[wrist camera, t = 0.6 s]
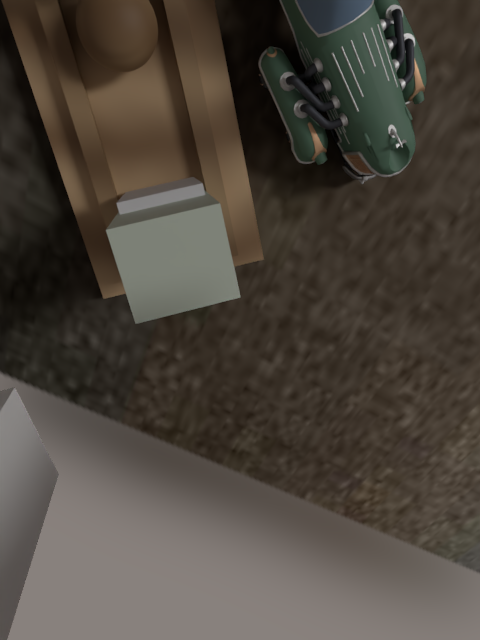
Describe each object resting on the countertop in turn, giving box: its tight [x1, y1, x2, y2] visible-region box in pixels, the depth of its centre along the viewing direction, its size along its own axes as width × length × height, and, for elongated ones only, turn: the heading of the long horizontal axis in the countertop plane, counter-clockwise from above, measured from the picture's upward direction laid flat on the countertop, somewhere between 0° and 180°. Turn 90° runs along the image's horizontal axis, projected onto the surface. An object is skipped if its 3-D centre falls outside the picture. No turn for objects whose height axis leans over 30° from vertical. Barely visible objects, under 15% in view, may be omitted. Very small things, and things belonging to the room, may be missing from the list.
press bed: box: [2, 0, 264, 299], centre depth 27 cm, size 20×12×7 cm, turn 12°
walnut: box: [76, 0, 158, 72], centre depth 25 cm, size 4×4×4 cm
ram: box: [106, 177, 240, 324], centre depth 25 cm, size 5×5×12 cm
